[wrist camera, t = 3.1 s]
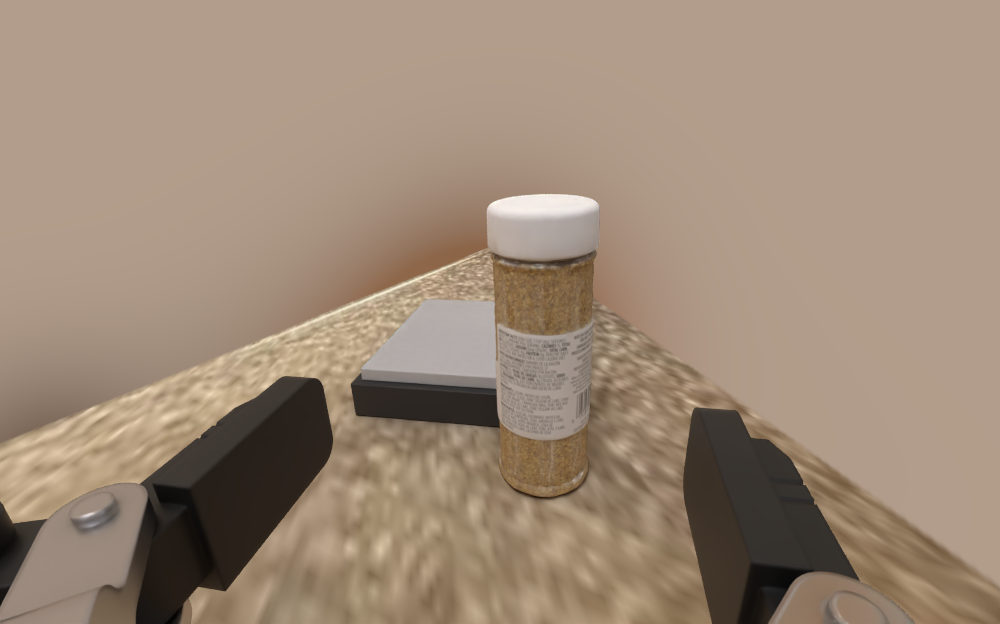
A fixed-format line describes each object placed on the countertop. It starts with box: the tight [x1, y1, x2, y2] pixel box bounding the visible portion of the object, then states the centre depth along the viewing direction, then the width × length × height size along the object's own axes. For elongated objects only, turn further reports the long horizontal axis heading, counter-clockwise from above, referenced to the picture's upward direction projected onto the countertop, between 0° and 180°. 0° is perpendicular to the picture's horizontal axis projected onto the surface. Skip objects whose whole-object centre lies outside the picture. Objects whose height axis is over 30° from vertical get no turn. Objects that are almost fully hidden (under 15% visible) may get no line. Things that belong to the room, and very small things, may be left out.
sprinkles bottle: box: [487, 194, 600, 497], centre depth 22 cm, size 5×5×14 cm
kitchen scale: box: [351, 299, 500, 427], centre depth 34 cm, size 13×13×3 cm
